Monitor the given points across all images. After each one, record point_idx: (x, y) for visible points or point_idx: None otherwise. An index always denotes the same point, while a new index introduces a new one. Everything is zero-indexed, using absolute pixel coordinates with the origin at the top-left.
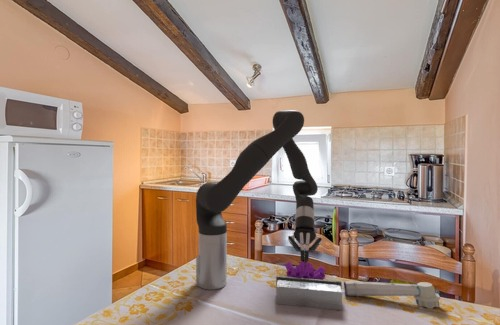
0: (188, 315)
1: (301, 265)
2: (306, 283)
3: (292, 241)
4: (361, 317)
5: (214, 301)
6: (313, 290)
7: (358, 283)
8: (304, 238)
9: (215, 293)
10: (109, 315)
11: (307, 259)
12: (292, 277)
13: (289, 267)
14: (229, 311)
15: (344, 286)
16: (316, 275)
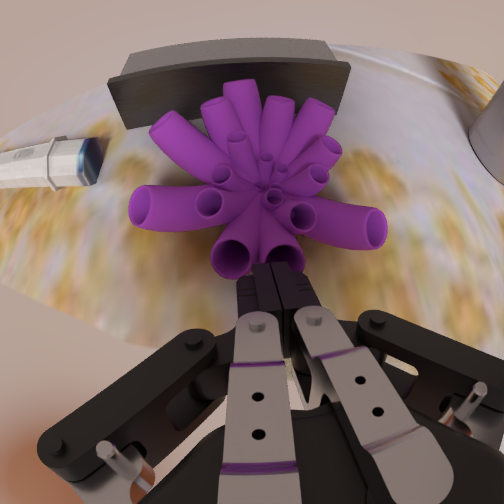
0: (429, 62)
1: (284, 234)
2: (234, 55)
3: (460, 350)
4: (108, 88)
5: (435, 89)
6: (211, 41)
7: (47, 143)
8: (326, 455)
9: (458, 114)
10: (488, 77)
11: (245, 276)
12: (291, 60)
13: (351, 204)
14: (388, 62)
15: (94, 138)
16: (190, 124)
